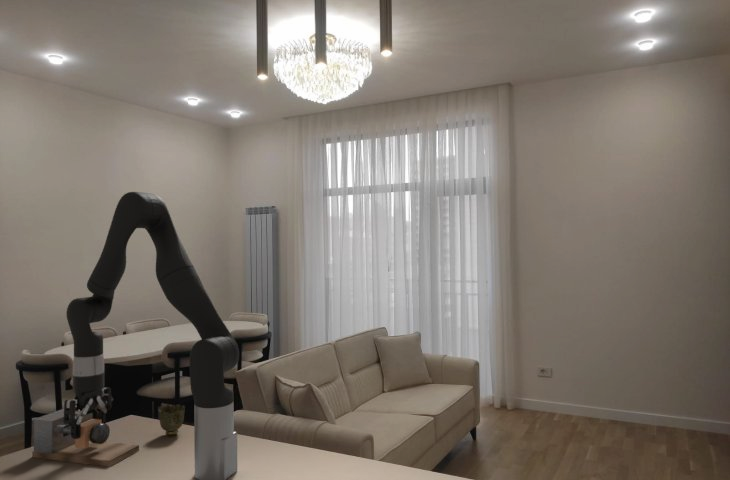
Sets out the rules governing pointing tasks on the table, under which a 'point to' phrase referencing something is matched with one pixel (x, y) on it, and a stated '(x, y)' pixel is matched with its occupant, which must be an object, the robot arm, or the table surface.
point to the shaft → (94, 433)
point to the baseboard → (92, 453)
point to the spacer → (86, 433)
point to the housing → (51, 433)
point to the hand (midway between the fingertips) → (88, 432)
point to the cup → (171, 418)
